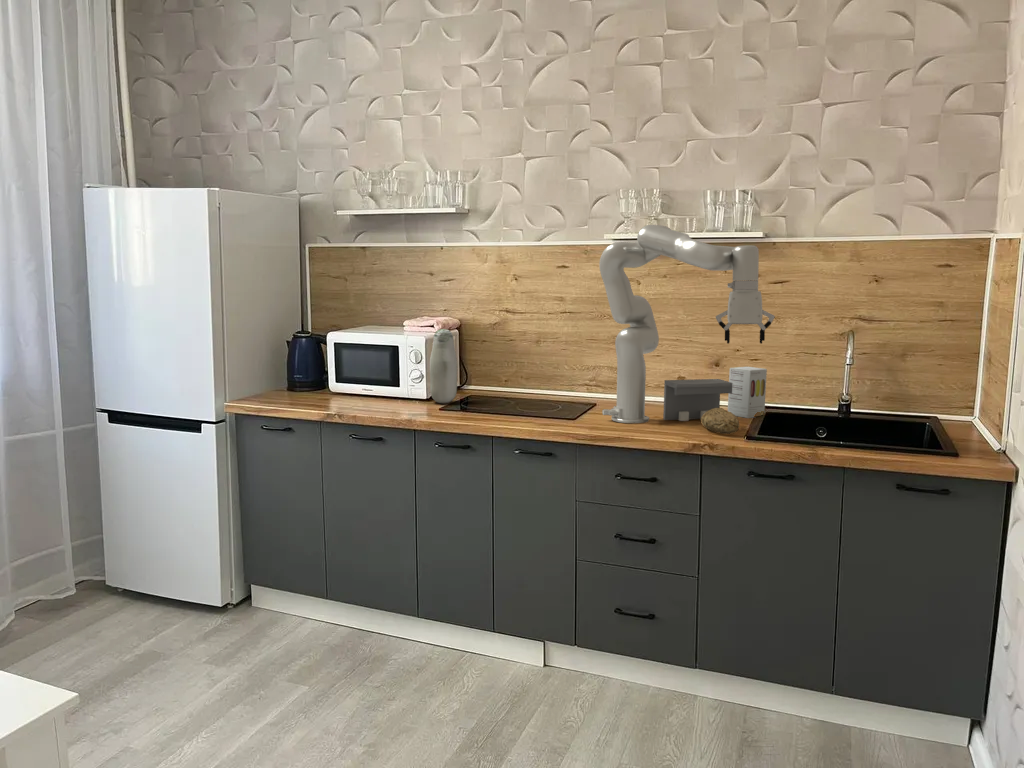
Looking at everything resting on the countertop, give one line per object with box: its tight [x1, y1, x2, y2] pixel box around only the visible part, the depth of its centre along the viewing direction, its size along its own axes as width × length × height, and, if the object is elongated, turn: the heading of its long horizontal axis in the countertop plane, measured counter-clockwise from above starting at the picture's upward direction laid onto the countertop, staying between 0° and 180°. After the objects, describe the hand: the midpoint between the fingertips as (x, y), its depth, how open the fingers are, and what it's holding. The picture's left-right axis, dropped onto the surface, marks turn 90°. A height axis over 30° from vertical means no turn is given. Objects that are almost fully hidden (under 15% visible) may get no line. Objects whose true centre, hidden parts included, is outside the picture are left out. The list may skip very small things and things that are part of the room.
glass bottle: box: [429, 328, 458, 404], centre depth 315 cm, size 10×10×28 cm
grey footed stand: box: [662, 378, 732, 422], centre depth 283 cm, size 20×10×14 cm, turn 103°
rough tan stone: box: [700, 407, 740, 435], centre depth 267 cm, size 13×8×20 cm
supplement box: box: [727, 366, 768, 419], centre depth 294 cm, size 10×9×17 cm
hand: (744, 343), depth 256 cm, fingers open, 9 cm apart
